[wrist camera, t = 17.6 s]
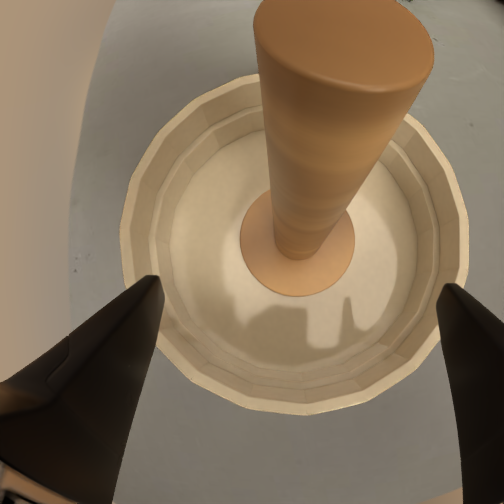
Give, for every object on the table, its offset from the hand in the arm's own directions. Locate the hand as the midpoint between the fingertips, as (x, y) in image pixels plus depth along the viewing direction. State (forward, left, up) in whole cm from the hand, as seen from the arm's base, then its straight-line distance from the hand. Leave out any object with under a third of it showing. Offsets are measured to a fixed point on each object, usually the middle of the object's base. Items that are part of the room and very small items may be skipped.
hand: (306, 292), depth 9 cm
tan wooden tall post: (+3, 0, -8) cm, 8 cm away
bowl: (+3, 0, -8) cm, 9 cm away
